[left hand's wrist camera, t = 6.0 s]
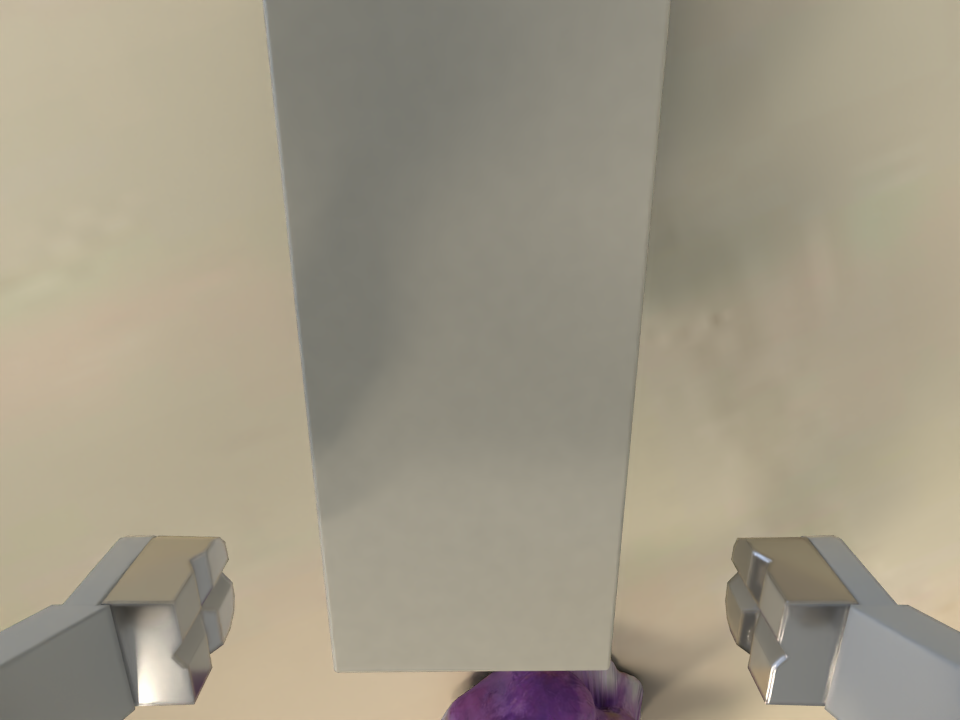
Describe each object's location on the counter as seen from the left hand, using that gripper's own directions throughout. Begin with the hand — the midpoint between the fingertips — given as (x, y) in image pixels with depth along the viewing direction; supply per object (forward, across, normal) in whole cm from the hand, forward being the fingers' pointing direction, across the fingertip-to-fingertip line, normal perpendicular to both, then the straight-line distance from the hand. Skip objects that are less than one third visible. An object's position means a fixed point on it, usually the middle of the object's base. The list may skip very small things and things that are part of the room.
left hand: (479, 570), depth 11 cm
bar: (+10, 0, -10) cm, 14 cm away
